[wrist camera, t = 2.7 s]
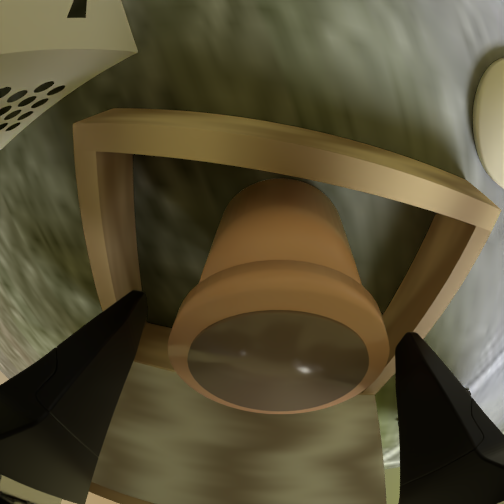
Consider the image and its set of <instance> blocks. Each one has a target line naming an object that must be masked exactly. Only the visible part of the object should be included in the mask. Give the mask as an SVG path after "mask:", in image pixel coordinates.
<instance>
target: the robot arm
mask: <svg viewBox="0 0 504 504" xmlns="http://www.w3.org/2000/svg"><path fill="white" fill-rule="evenodd" d="M147 314H148V307H147V299H146V294H145V292H143V291H139V290H132V291H130V292H129V293H128V294H126V295H125V296H123V297H122V298H121V299H119V300H118V301H117V302H115V303H114V304H112V305H111V306H110V307H108V308H107V309H106V310H104V311H103V312H102V313H100V314H99V315H98V316H96V317H95V318H94V319H92V320H91V321H90V322H88V323H87V324H86V325H84V326H83V327H82V328H80V329H79V330H78V331H76V332H75V333H74V334H72V335H71V336H70V337H68V338H67V339H66V340H65V341H63V342H62V343H61V344H59V345H58V346H57V348H54V349H53V350H51V351H50V352H49V353H48V354H46V355H45V356H44V357H42V358H41V359H40V360H38V361H37V362H35V363H34V364H32V365H31V366H29V367H28V368H26V369H25V370H23V371H22V372H20V373H19V374H17V375H15V376H14V377H12V378H11V379H9V380H8V381H6V382H5V383H3V384H1V385H0V504H61V501H62V499H64V500H67V501H71V502H74V503H77V504H85V502H86V498H87V495H88V492H89V488H90V485H91V481H92V478H93V474H94V471H95V468H96V465H97V461H98V457H99V455H100V452H101V449H102V446H103V443H104V440H105V437H106V434H107V431H108V428H109V425H110V422H111V419H112V417H113V414H114V411H115V408H116V405H117V403H118V400H119V397H120V395H121V392H122V389H123V387H124V384H125V382H126V379H127V376H128V374H129V371H130V369H131V366H132V364H133V361H134V359H135V356H136V353H137V349H138V346H139V342H140V339H141V335H142V332H143V328H144V325H145V321H146V318H147ZM395 377H396V397H397V408H398V426H399V440H400V498H399V503H398V504H504V435H503V433H502V432H501V431H500V430H499V429H498V428H497V427H496V425H495V424H494V423H493V422H492V421H491V420H490V419H489V418H488V416H487V415H486V414H485V413H484V412H483V411H482V409H481V408H480V407H479V406H478V404H477V403H476V402H475V401H474V399H473V398H472V397H471V393H470V391H466V389H465V388H464V387H463V386H462V384H461V383H460V382H459V381H458V380H457V378H456V377H455V376H454V375H453V373H452V372H451V371H450V370H449V369H448V368H447V366H446V365H445V364H444V363H443V362H442V360H441V359H440V358H439V357H438V356H437V355H436V354H435V352H434V351H433V350H432V349H431V348H430V347H429V345H428V344H427V343H426V342H425V341H424V340H423V339H422V338H421V336H420V335H419V334H418V333H416V332H407V333H405V335H404V336H403V337H402V339H401V340H400V341H399V343H398V344H397V346H396V348H395Z"/></svg>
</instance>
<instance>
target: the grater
mask: <svg viewBox="0 0 504 504" xmlns="http://www.w3.org/2000/svg"><path fill="white" fill-rule="evenodd" d="M73 1H74V0H0V89H1V88H4V87H11V90H10V92H9V93H8V94H6V95H5V96H4V97H2V98H0V109H1V108H3V107H6V106H12V108H11V109H10V110H9V111H8V112H7V113H5V114H3V115H1V116H0V125H1V124H3V123H8V125H7V126H6V127H4V128H3V129H1V130H0V150H1V149H2V148H3V147H4V146H5V145H7V144H8V143H9V142H10V141H11V140H12V139H13V138H14V137H15V136H16V135H17V134H18V133H20V132H21V131H22V130H23V129H24V128H25V127H27V126H28V125H29V124H30V123H31V122H32V121H34V120H35V119H36V118H37V117H39V116H40V115H41V114H42V113H44V112H45V111H46V110H47V109H49V108H50V107H51V106H53V105H54V104H55V103H57V102H58V101H59V100H61V99H62V98H64V97H65V96H66V95H68V94H69V93H71V92H72V91H74V90H75V89H77V88H78V87H79V86H81V85H83V84H84V83H86V82H87V81H89V80H90V79H92V78H93V77H95V76H97V75H98V74H100V73H102V72H103V71H105V70H107V69H108V68H110V67H112V66H114V65H115V64H117V63H119V62H121V61H123V60H125V59H126V58H128V57H130V56H132V55H134V54H136V53H138V49H137V47H136V44H135V41H134V38H133V35H132V32H131V29H130V26H129V23H128V20H127V17H126V14H125V11H124V8H123V5H122V2H121V0H87V7H86V18H67V16H68V13H69V11H70V8H71V6H72V3H73ZM50 81H53V82H54V84H53V85H52V86H51V87H49V88H48V89H46V90H44V91H42V92H38V93H34V90H35V89H36V88H37V87H38V86H40V85H41V84H44V83H46V82H50ZM62 85H64V86H65V88H64V89H63V90H61V91H60V92H58V93H56V94H53V95H50V96H48V95H47V93H48V92H49V91H50V90H52V89H54V88H56V87H58V86H62ZM22 90H27V91H28V92H27V94H26V95H25V96H23V97H22V98H20V99H18V100H17V101H14V102H10V103H8V102H7V100H8V98H9V97H10V96H12V95H13V94H15V93H17V92H19V91H22ZM32 96H36V97H37V98H36V99H35V100H34V101H33V102H31V103H29V104H27V105H25V106H22V107H18V104H19V103H20V102H21V101H23V100H24V99H26V98H28V97H32ZM46 98H48V101H47V102H46V103H44V104H43V105H41V106H39V107H36V108H31V106H32V105H33V104H35V103H36V102H38V101H40V100H42V99H46ZM16 110H21V112H20V113H19V114H18V115H17V116H15V117H13V118H11V119H9V120H4V118H5V117H6V116H7V115H8V114H10V113H12V112H13V111H16ZM29 111H33V113H32V114H31V115H30V116H28V117H26V118H25V119H22V120H17V119H18V118H19V117H20V116H21V115H23V114H25V113H27V112H29ZM18 122H20V125H19V126H17V127H16V128H14V129H12V130H10V131H6V129H7V128H8V127H10V126H11V125H13V124H15V123H18Z"/></svg>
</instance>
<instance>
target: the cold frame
mask: <svg viewBox="0 0 504 504" xmlns="http://www.w3.org/2000/svg"><path fill="white" fill-rule="evenodd" d="M73 145H74V159H75V171H76V181H77V190H78V198H79V205H80V212H81V218H82V224H83V230H84V236H85V241H86V246H87V251H88V256H89V260H90V265H91V269H92V274H93V278H94V282H95V286H96V290H97V293H98V297H99V301H100V304H101V308H102V311H104V310H106V309H107V308H108V307H110V306H111V305H112V304H114V303H115V302H117V301H118V300H119V299H121V298H122V297H123V296H125V295H126V294H128V293H129V292H130V291H132V290H139V291H142V286H141V278H140V270H139V261H138V250H137V239H136V226H135V210H134V188H133V154H140V155H151V156H162V157H171V158H180V159H188V160H196V161H204V162H211V163H218V164H225V165H232V166H238V167H245V168H251V169H257V170H262V171H268V172H273V173H279V174H284V175H289V176H294V177H299V178H304V179H309V180H314V181H319V182H323V183H328V184H332V185H336V186H341V187H345V188H349V189H353V190H357V191H362V192H365V193H369V194H373V195H377V196H381V197H385V198H388V199H392V200H396V201H399V202H403V203H406V204H410V205H413V206H417V207H420V208H423V209H427V210H430V211H433V212H436V214H435V216H434V219H433V221H432V223H431V225H430V227H429V230H428V232H427V234H426V236H425V238H424V240H423V242H422V244H421V246H420V248H419V250H418V252H417V254H416V256H415V258H414V260H413V262H412V264H411V266H410V268H409V270H408V272H407V274H406V276H405V277H404V279H403V281H402V283H401V285H400V286H399V288H398V290H397V292H396V294H395V295H394V297H393V299H392V300H391V302H390V304H389V306H388V307H387V309H386V311H385V312H384V314H383V315H382V319H383V322H384V326H385V329H386V333H387V336H388V340H389V347H390V349H389V357H388V361H387V364H386V366H385V368H384V370H383V371H382V373H381V374H380V375H379V377H378V378H377V379H376V380H375V381H374V382H373V383H372V384H371V385H370V386H369V387H367V388H366V389H365V390H364V391H362V392H361V393H359V394H357V395H356V396H354V397H352V398H350V399H348V400H346V401H344V402H342V403H339V404H337V405H334V406H331V407H328V408H324V409H320V410H316V411H311V412H305V413H296V414H264V413H256V412H249V411H244V410H240V409H236V408H232V407H229V406H226V405H223V404H220V403H218V402H215V401H213V400H211V399H209V398H207V397H205V396H203V395H202V394H200V393H198V392H197V391H195V390H194V389H193V388H191V387H190V386H189V385H188V384H186V383H185V382H184V381H183V380H182V379H181V378H180V376H179V375H178V374H177V373H176V371H175V370H174V368H173V366H172V364H171V362H170V360H169V355H168V340H169V336H170V333H171V330H172V328H168V327H164V326H159V325H155V324H151V323H147V321H145V325H144V328H143V332H142V335H141V339H140V342H139V346H138V349H137V353H136V356H135V359H134V361H133V364H132V366H131V369H130V371H129V374H128V376H127V379H126V382H125V384H124V387H123V389H122V392H121V395H120V397H119V400H118V403H117V405H116V408H115V411H114V414H113V417H112V419H111V422H110V425H109V428H108V431H107V434H106V437H105V440H104V443H103V446H102V449H101V452H100V455H99V457H98V461H97V465H96V468H95V471H94V474H93V478H92V481H91V485H90V488H89V492H92V493H94V494H96V495H99V496H101V497H104V498H106V499H109V500H112V501H114V502H117V503H120V504H386V488H385V475H384V463H383V453H382V444H381V435H380V428H379V420H378V413H377V406H376V400H375V394H376V393H377V392H378V391H379V390H380V389H381V388H382V387H383V386H384V385H385V383H386V382H387V381H388V380H389V379H390V378H391V377H392V376H393V375H394V374H395V348H396V346H397V344H398V343H399V341H400V340H401V339H402V337H403V336H404V335H405V333H407V332H416V333H418V334H419V335H420V336H421V338H422V339H424V338H425V336H426V335H427V334H428V332H429V331H430V330H431V328H432V327H433V326H434V324H435V323H436V322H437V320H438V319H439V317H440V316H441V315H442V313H443V312H444V310H445V309H446V307H447V306H448V304H449V303H450V302H451V300H452V299H453V297H454V295H455V294H456V292H457V291H458V289H459V288H460V286H461V285H462V283H463V281H464V280H465V278H466V276H467V275H468V273H469V271H470V270H471V268H472V266H473V265H474V263H475V261H476V259H477V258H478V256H479V254H480V252H481V250H482V248H483V247H484V245H485V243H486V241H487V239H488V237H489V235H490V233H491V231H492V229H493V227H494V225H495V223H496V221H497V219H498V216H499V214H500V212H501V209H499V208H498V207H497V206H496V205H495V204H494V203H493V202H492V201H491V200H490V199H488V198H487V197H486V196H485V195H484V194H483V193H481V192H480V191H479V190H478V189H477V188H476V187H474V186H473V185H472V184H471V183H469V182H468V181H467V180H465V179H463V178H460V177H458V176H456V175H453V174H451V173H448V172H446V171H443V170H441V169H438V168H436V167H433V166H431V165H428V164H425V163H423V162H420V161H417V160H414V159H411V158H409V157H406V156H403V155H400V154H397V153H394V152H391V151H387V150H384V149H381V148H378V147H374V146H371V145H368V144H364V143H361V142H357V141H354V140H350V139H346V138H342V137H338V136H334V135H330V134H326V133H322V132H318V131H313V130H309V129H304V128H300V127H295V126H290V125H285V124H279V123H274V122H268V121H262V120H256V119H250V118H243V117H236V116H228V115H220V114H212V113H202V112H191V111H179V110H163V109H139V108H113V109H110V110H107V111H104V112H102V113H99V114H96V115H93V116H91V117H88V118H86V119H83V120H80V121H78V122H75V123H73Z"/></svg>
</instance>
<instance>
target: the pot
mask: <svg viewBox="0 0 504 504" xmlns="http://www.w3.org/2000/svg"><path fill="white" fill-rule="evenodd" d="M389 349H390V347H389V340H388V336H387V333H386V329H385V326H384V322H383V319H382V315H381V312H380V309H379V307H378V305H377V302H376V301H375V299H374V298H373V297H372V295H371V294H370V293H369V292H368V291H367V290H366V289H365V288H364V287H363V286H362V284H361V280H360V277H359V274H358V270H357V267H356V264H355V261H354V258H353V254H352V251H351V248H350V245H349V242H348V239H347V236H346V233H345V230H344V228H343V225H342V222H341V219H340V216H339V213H338V211H337V209H336V207H335V206H334V204H333V203H332V202H331V200H330V199H329V198H328V197H327V196H326V195H325V194H324V193H322V192H321V191H320V190H319V189H317V188H315V187H314V186H312V185H310V184H307V183H305V182H302V181H298V180H294V179H287V178H275V179H267V180H263V181H259V182H257V183H254V184H252V185H250V186H248V187H246V188H244V189H243V190H242V191H240V192H239V193H238V194H237V195H236V196H235V197H234V198H233V199H232V200H231V201H230V202H229V204H228V205H227V207H226V209H225V210H224V212H223V215H222V218H221V221H220V223H219V226H218V229H217V232H216V235H215V237H214V240H213V243H212V246H211V249H210V252H209V255H208V257H207V260H206V263H205V266H204V269H203V272H202V275H201V278H200V281H199V284H197V285H196V286H195V287H194V288H193V289H192V290H191V291H190V292H189V293H188V294H187V296H186V297H185V298H184V300H183V302H182V304H181V306H180V308H179V310H178V313H177V316H176V319H175V321H174V324H173V327H172V330H171V333H170V336H169V340H168V355H169V360H170V362H171V364H172V366H173V368H174V370H175V371H176V373H177V374H178V375H179V376H180V378H181V379H182V380H183V381H184V382H185V383H186V384H188V385H189V386H190V387H191V388H193V389H194V390H195V391H197V392H198V393H200V394H202V395H203V396H205V397H207V398H209V399H211V400H213V401H215V402H218V403H220V404H223V405H226V406H229V407H232V408H236V409H240V410H244V411H249V412H256V413H264V414H296V413H305V412H311V411H316V410H320V409H324V408H328V407H331V406H334V405H337V404H339V403H342V402H344V401H346V400H348V399H350V398H352V397H354V396H356V395H357V394H359V393H361V392H362V391H364V390H365V389H366V388H367V387H369V386H370V385H371V384H372V383H373V382H374V381H375V380H376V379H377V378H378V377H379V375H380V374H381V373H382V371H383V370H384V368H385V366H386V364H387V361H388V357H389Z"/></svg>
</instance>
